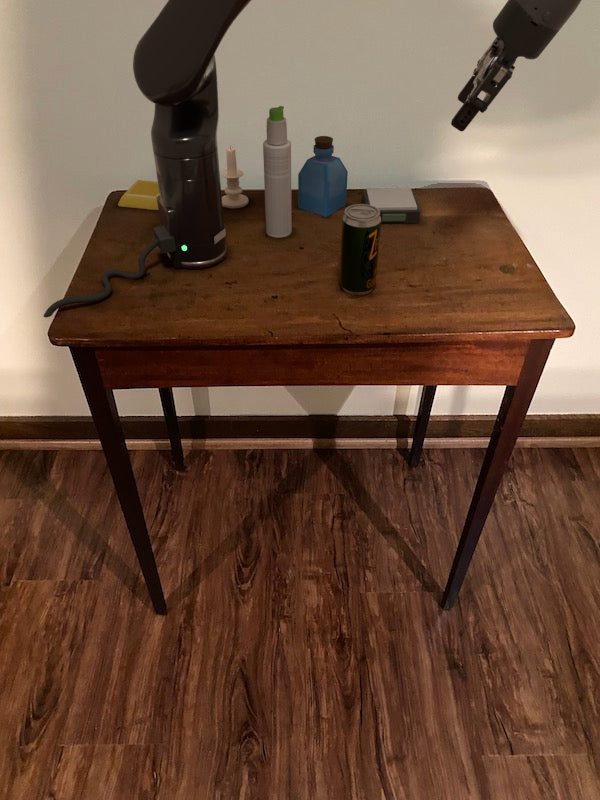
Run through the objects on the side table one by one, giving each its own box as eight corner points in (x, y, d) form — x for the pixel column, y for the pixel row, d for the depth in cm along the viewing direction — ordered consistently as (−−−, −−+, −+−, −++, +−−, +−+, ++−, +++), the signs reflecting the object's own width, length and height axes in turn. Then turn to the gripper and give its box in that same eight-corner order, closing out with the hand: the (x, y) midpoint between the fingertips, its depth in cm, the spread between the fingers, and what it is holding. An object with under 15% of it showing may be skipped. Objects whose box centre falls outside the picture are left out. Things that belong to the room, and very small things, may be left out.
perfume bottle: (326, 217, 117) (328, 148, 109) (298, 207, 120) (298, 140, 112) (346, 204, 121) (349, 137, 113) (318, 196, 123) (319, 130, 116)
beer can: (335, 293, 98) (338, 217, 90) (344, 275, 102) (347, 201, 94) (371, 299, 97) (377, 222, 89) (378, 280, 101) (385, 205, 93)
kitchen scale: (367, 224, 115) (368, 209, 113) (362, 201, 122) (363, 186, 120) (419, 224, 115) (421, 209, 113) (411, 200, 122) (412, 186, 120)
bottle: (297, 231, 113) (296, 109, 99) (278, 240, 110) (275, 116, 97) (279, 223, 115) (276, 102, 102) (260, 232, 113) (255, 109, 99)
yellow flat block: (114, 195, 119) (116, 206, 120) (160, 200, 117) (162, 211, 119) (133, 175, 125) (135, 186, 126) (177, 180, 124) (178, 190, 125)
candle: (243, 209, 119) (240, 152, 112) (216, 207, 120) (211, 149, 113) (252, 197, 123) (249, 141, 116) (225, 194, 124) (220, 138, 117)
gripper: (518, -26, 88) (444, 80, 100) (512, 8, 79) (431, 121, 91) (562, 7, 89) (484, 108, 101) (562, 45, 80) (476, 151, 92)
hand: (459, 114), depth 96 cm, fingers open, 8 cm apart
